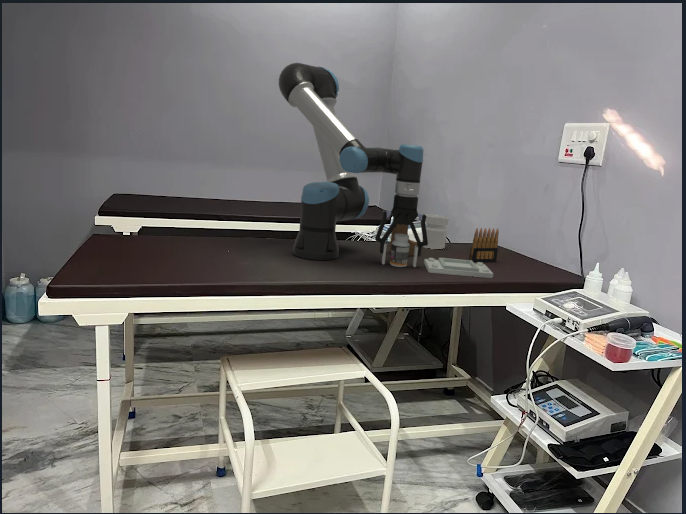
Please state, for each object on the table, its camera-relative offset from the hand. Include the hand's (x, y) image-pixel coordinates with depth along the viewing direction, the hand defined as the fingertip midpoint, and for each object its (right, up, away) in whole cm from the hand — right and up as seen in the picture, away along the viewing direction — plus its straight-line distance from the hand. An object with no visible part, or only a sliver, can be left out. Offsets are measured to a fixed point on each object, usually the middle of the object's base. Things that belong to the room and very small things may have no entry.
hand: (398, 264), depth 178 cm
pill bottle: (0, 0, 0) cm, 0 cm away
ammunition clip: (+31, +1, +17) cm, 35 cm away
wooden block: (+3, +3, +17) cm, 17 cm away
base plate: (+19, -2, 0) cm, 19 cm away
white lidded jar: (+16, +6, +33) cm, 38 cm away
